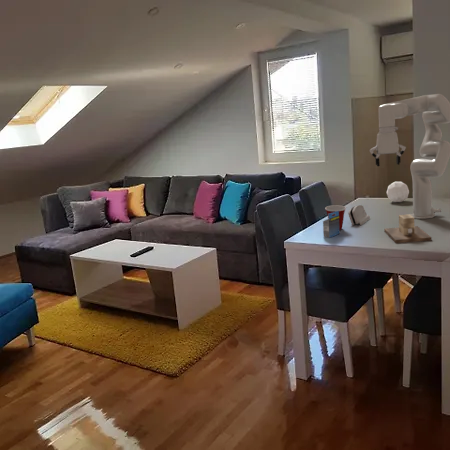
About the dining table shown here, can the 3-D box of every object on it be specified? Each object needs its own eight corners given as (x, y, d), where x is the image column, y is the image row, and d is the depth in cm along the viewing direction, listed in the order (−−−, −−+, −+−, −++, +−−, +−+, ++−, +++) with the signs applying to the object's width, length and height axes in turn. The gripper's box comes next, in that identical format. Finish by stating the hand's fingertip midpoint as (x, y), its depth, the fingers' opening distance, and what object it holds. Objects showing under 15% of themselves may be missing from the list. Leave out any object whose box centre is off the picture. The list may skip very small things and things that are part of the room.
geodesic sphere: (409, 195, 300) (408, 175, 305) (385, 196, 305) (385, 177, 310) (409, 205, 312) (409, 186, 317) (386, 206, 317) (387, 187, 322)
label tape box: (333, 233, 254) (332, 209, 251) (340, 234, 251) (339, 210, 248) (323, 237, 248) (321, 213, 246) (330, 238, 245) (328, 214, 243)
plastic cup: (332, 232, 254) (331, 210, 252) (322, 228, 265) (321, 207, 262) (351, 229, 257) (350, 207, 255) (340, 225, 267) (339, 204, 265)
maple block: (409, 230, 239) (409, 214, 237) (414, 234, 231) (414, 217, 229) (399, 231, 239) (398, 215, 237) (403, 235, 231) (403, 218, 230)
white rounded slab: (361, 225, 264) (354, 208, 264) (353, 227, 267) (346, 210, 267) (370, 218, 277) (364, 201, 277) (362, 220, 280) (356, 204, 280)
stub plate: (417, 229, 245) (417, 219, 244) (431, 240, 224) (431, 229, 223) (384, 231, 247) (384, 221, 246) (395, 243, 226) (395, 232, 224)
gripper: (403, 128, 244) (403, 162, 248) (367, 131, 246) (368, 166, 250) (407, 129, 237) (408, 164, 241) (370, 132, 239) (371, 167, 243)
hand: (388, 165), depth 245 cm, fingers open, 9 cm apart
